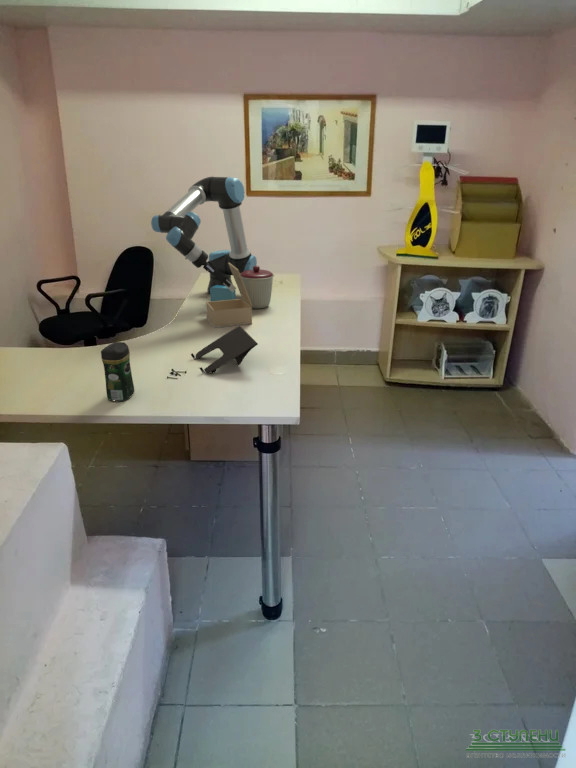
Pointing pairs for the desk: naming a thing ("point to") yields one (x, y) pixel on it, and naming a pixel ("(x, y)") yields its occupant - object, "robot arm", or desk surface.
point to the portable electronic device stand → (228, 348)
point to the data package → (221, 293)
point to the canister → (258, 286)
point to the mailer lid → (240, 283)
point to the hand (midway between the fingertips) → (234, 289)
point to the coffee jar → (117, 371)
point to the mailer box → (229, 313)
